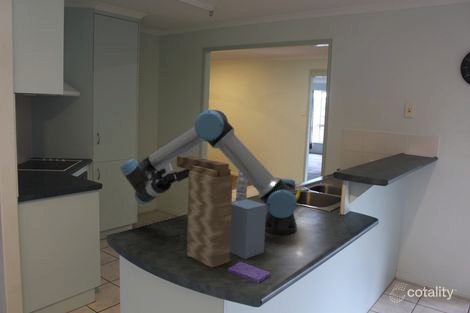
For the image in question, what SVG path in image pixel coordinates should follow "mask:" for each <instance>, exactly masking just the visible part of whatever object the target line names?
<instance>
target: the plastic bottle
mask: <svg viewBox="0 0 470 313" xmlns="http://www.w3.org/2000/svg"><path fill="white" fill-rule="evenodd" d="M248 185H249V181H248V180H247V179H246V178H245V176H244V175H243V174H242V173H241V172H240V171H239V170H238V176H237V178H236V180H235V189H236V192H235V201H234V202H236V201H241V200H245V199H248V197H247V195H248V194H247V192H248Z"/></svg>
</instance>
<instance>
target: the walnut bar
mask: <svg viewBox="0 0 470 313" xmlns="http://www.w3.org/2000/svg"><path fill="white" fill-rule="evenodd" d="M192 165H194V166H198V167H203V168H207V169H212V170H216V171H218V174H217V176H218V177H223V176H228V174H229V169H230V166H229V165H230V164H229V163H226V162H221V161H215V160H211V159H205V158H200V157H195V156H192V155H191V156H190V155H186V154H185V155H184V154H183V155H181V156H177V158H176V167H177V168H180V169H184V170H185V169H189V170H191V166H192Z"/></svg>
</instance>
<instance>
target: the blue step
mask: <svg viewBox="0 0 470 313" xmlns="http://www.w3.org/2000/svg"><path fill="white" fill-rule="evenodd" d="M266 214H267V206H266V204H264V203H263V202H262V203H261V202H258V201H254V200H252V199H248V198H247V199H245V200H241V201H236V202H235V201H232V207H231V234H230V253H231V254H233V255H235V256H238V257H240V258H242V259H245V260H247V259H250V258H252V257H255V256H258V255H261V254H264V252H265V241H266V240H265V238H266V237H265V236H266V231H265V220H266Z"/></svg>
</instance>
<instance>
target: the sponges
mask: <svg viewBox="0 0 470 313" xmlns="http://www.w3.org/2000/svg"><path fill="white" fill-rule="evenodd" d="M227 272H228V273H230V274H233V275H236V276H238V277H240V278H244V279H247V280H249V281H251V280H252V281H251V282H253V281H254V283H256V282H257V284H260V283H261V282H263V281H264V280H266V279H268V278H269V277H270V276H271V275H270V274H271V272H270V271H267V270H263V269H261V268H259V267H256V266H253V265H250V264H247V263H245V262H242V261H239V262H238V263H235V264H234V265H232V266H229V267H228V269H227ZM267 277H268V278H267ZM265 278H266V279H265ZM260 281H261V282H260Z"/></svg>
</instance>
